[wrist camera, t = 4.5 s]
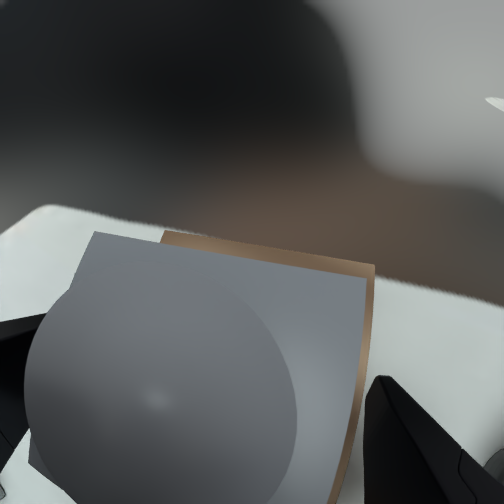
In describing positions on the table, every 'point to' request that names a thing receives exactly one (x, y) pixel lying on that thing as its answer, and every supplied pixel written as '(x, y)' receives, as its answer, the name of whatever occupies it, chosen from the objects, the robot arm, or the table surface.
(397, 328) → the table surface
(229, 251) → the wooden board
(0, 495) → the skincare box
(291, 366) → the domed grey block
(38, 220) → the table surface
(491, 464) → the beverage cup
